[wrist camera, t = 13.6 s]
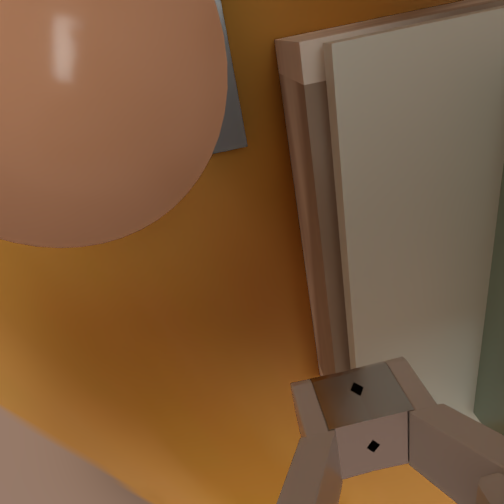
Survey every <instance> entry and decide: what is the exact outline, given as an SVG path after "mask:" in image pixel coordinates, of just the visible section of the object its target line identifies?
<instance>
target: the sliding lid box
mask: <svg viewBox="0 0 504 504" xmlns="http://www.w3.org/2000/svg"><path fill="white" fill-rule="evenodd" d="M503 5H504V0H464V1H459V2H454V3H449V4H444V5H439V6H435V7H430V8H425V9H420V10H415V11H411V12H406V13H401V14H396V15H391V16H386V17H382V18H377V19H372V20H367V21H362V22H357V23H353V24H348V25H343V26H338V27H333V28H328V29H324V30H319V31H314V32H309V33H304V34H300V35H295V36H290V37H285V38H280V39H275V40H274V41H275V48H276V56H277V63H278V70H279V78H280V85H281V93H282V100H283V107H284V115H285V122H286V129H287V137H288V144H289V151H290V159H291V166H292V173H293V181H294V188H295V195H296V203H297V210H298V218H299V225H300V232H301V240H302V247H303V254H304V262H305V269H306V276H307V284H308V291H309V298H310V306H311V313H312V321H313V328H314V335H315V343H316V350H317V357H318V365H319V372H320V376H325V375H329V374H334V373H339V372H343V371H346V370H350V369H351V368H350V356H349V344H348V333H347V321H346V309H345V297H344V285H343V274H342V262H341V250H340V238H339V227H338V215H337V203H336V191H335V180H334V168H333V156H332V144H331V133H330V121H329V109H328V97H327V85H326V74H325V62H324V50H323V43H325V42H330V41H334V40H339V39H344V38H349V37H354V36H358V35H363V34H368V33H373V32H378V31H382V30H387V29H392V28H397V27H402V26H406V25H411V24H416V23H421V22H426V21H430V20H435V19H440V18H445V17H450V16H454V15H459V14H464V13H469V12H474V11H479V10H483V9H488V8H493V7H498V6H503Z"/></svg>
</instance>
